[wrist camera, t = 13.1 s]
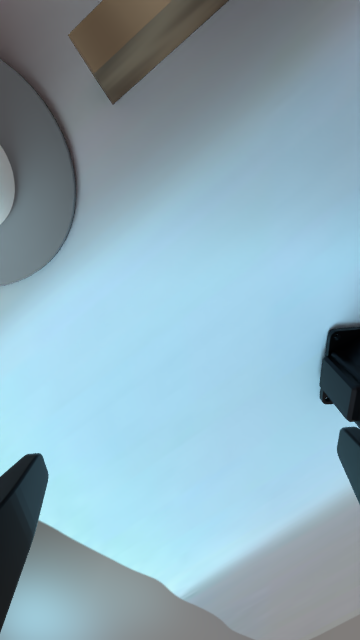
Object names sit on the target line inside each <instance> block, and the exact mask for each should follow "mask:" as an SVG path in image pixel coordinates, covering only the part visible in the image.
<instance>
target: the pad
mask: <svg viewBox="0 0 360 640" xmlns="http://www.w3.org/2000/svg"><path fill="white" fill-rule="evenodd" d="M0 145H1V147H2V148H3V150H4V152H5V153H6V155H7V158H8V160H9V162H10V165H11V168H12V171H13V176H14V183H15V195H14V201H13V205H12V208H11V210H10V213H9V214H8V216H7V218H6V219H5V220H4V221H3V222H2V224H0V286H5V285H8V284H12V283H15V282H18V281H20V280H22V279H25V278H27V277H29V276H31V275H32V274H34V273H35V272H37V271H39V270H40V269H42V268H43V267H44V266H45V265H46V264H47V263H49V262H50V261H51V260H52V259H53V257H54V256H55V255H56V254H57V253H58V251H59V250H60V248H61V247H62V245H63V243H64V242H65V240H66V238H67V235H68V233H69V231H70V228H71V225H72V221H73V217H74V211H75V203H76V183H75V175H74V168H73V164H72V160H71V156H70V152H69V149H68V147H67V144H66V141H65V139H64V136H63V134H62V132H61V130H60V128H59V126H58V124H57V122H56V120H55V118H54V116H53V115H52V113H51V112H50V110H49V109H48V107H47V105H46V104H45V102H44V101H43V100H42V99H41V97H40V96H39V95H38V94H37V92H36V91H35V90H34V89H33V88H32V87H31V86H30V85H29V84H28V83H27V82H26V81H25V79H24V78H23V77H22V76H21V75H20V74H18V73H17V72H16V71H15V70H13V69H12V68H11V67H10V66H9V65H7V64H6V63H5V62H4V61H2V60H1V59H0Z"/></svg>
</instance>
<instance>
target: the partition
mask: <svg viewBox="0 0 360 640" xmlns="http://www.w3.org/2000/svg"><path fill="white" fill-rule="evenodd" d="M228 1H229V0H103V1H102V2H101V3H100V4H99V5H98V6H97V7H96V8H95V9H94V10H93V11H92V12H91V13H90V14H89V15H88V16H87V17H86V18H85V19H84V20H83V21H82V22H81V23H80V24H79V25H78V26H77V27H76V28H75V29H74V30H73V31H72V32H71V33H70V34H69V35H68V36H69V38H70V39H71V41H72V42H73V44H74V46H75V47H76V49H77V50H78V52H79V53H80V55H81V57H82V58H83V60H84V61H85V63H86V64H87V66H88V68H89V69H90V71H91V72H92V74H93V76H94V77H95V79H96V80H97V82H98V83H99V85H100V86H101V88H102V89H103V91H104V92H105V94H106V95H107V97H108V98H109V100H110V101H111V103H112V104H114V103H115V102H116V101H117V100H119V99H120V98H121V97H122V96H123V95H124V94H125V93H126V92H128V91H129V90H130V89H131V88H132V87H133V86H134V85H135V84H136V83H138V82H139V81H140V80H141V79H142V78H143V77H144V76H145V75H146V74H148V73H149V72H150V71H151V70H152V69H153V68H154V67H155V66H156V65H158V64H159V63H160V62H161V61H162V60H163V59H164V58H165V57H166V56H168V55H169V54H170V53H171V52H172V51H173V50H174V49H175V48H176V47H178V46H179V45H180V44H181V43H182V42H183V41H184V40H185V39H186V38H188V37H189V36H190V35H191V34H192V33H193V32H194V31H195V30H196V29H198V28H199V27H200V26H201V25H202V24H203V23H204V22H205V21H206V20H208V19H209V18H210V17H211V16H212V15H213V14H214V13H215V12H216V11H218V10H219V9H220V8H221V7H222V6H223V5H224V4H225V3H226V2H228Z"/></svg>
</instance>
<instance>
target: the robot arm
mask: <svg viewBox="0 0 360 640" xmlns="http://www.w3.org/2000/svg"><path fill="white" fill-rule="evenodd" d="M336 334H338V335H337V337H336V338H334V336H335V335H336ZM320 387H321V391H320V399H321V401H322V402H323V403H324V404H334V405H335V406H336V407H337V408H338V410H339V411H340V412H341V413H342V415H343V416H344V417H345V419H347V420H348V421H349V422H355V423H356V424H357V426H358V427H359V428H360V327H351V328H338V329H332V330H331V331H330V332H329V333H328V336H327V344H326V352H325V357H324V358H323V361H322V369H321V377H320ZM326 397H328V398H326ZM359 428H357V427H344V428H342V429H341V430H340V433H339V439H338V445H337V453H338V456H339V459H340V461H341V463H342V466H343V468H344V470H345V472H346V475H347V477H348V479H349V481H350V484H351V486H352V488H353V490H354V493H355V495H356V497H357V499H358V502H359V504H360V429H359ZM47 483H48V471H47V468H46V465H45V462H44V459H43V456H42V455H41V454H40V453H35V454H27V455H25V456H24V457H22V458H21V459H20V460H19V461H18V462H17V463H16V464H14V465H13V466H12V467H11V468H10V469H9V470H8V471H6V472H5V473H4V474H3V475H2V476H1V477H0V632H1V629H2V626H3V623H4V621H5V618H6V615H7V612H8V609H9V606H10V603H11V600H12V598H13V595H14V592H15V589H16V587H17V584H18V581H19V578H20V575H21V572H22V569H23V566H24V564H25V561H26V558H27V555H28V552H29V550H30V547H31V543H32V540H33V537H34V534H35V531H36V527H37V523H38V519H39V515H40V511H41V507H42V503H43V499H44V495H45V491H46V487H47Z"/></svg>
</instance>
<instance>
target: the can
mask: <svg viewBox="0 0 360 640" xmlns="http://www.w3.org/2000/svg"><path fill="white" fill-rule="evenodd" d="M14 195H15V183H14V176H13V171H12V168H11V165H10V162H9V160H8V158H7V155H6V153H5V152H4V150H3V148H2V147H1V145H0V224H2V222H3V221H4V220H5V219H6V218H7V216H8V214H9V213H10V210H11V208H12V205H13V201H14Z"/></svg>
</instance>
